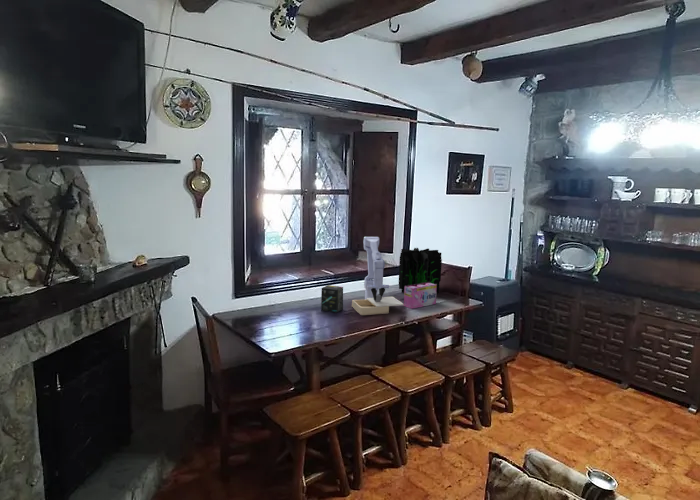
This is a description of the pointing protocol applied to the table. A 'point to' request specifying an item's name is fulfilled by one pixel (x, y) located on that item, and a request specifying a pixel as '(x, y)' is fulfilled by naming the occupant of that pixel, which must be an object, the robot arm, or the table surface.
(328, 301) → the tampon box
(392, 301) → the lid
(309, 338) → the table surface
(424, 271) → the decorative plant
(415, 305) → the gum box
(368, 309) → the beige wooden tray
